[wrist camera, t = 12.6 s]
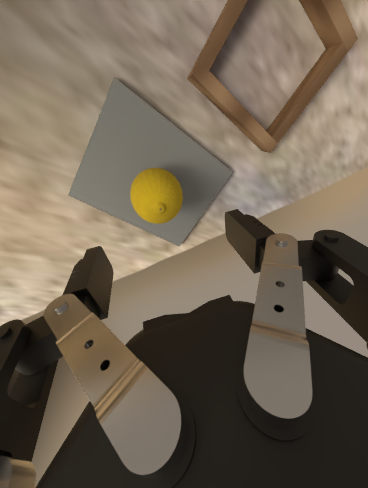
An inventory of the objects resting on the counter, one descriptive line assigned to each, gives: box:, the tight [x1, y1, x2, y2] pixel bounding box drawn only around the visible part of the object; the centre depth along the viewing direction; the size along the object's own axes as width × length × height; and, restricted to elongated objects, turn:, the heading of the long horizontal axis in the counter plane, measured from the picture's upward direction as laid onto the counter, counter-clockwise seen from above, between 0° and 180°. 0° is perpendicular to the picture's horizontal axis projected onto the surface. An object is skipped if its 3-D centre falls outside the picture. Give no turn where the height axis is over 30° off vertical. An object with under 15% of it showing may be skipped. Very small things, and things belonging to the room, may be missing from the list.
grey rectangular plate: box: [69, 77, 233, 246], centre depth 24 cm, size 16×13×1 cm
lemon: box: [130, 168, 183, 224], centre depth 20 cm, size 6×6×8 cm
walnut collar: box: [187, 0, 358, 153], centre depth 19 cm, size 12×12×2 cm
